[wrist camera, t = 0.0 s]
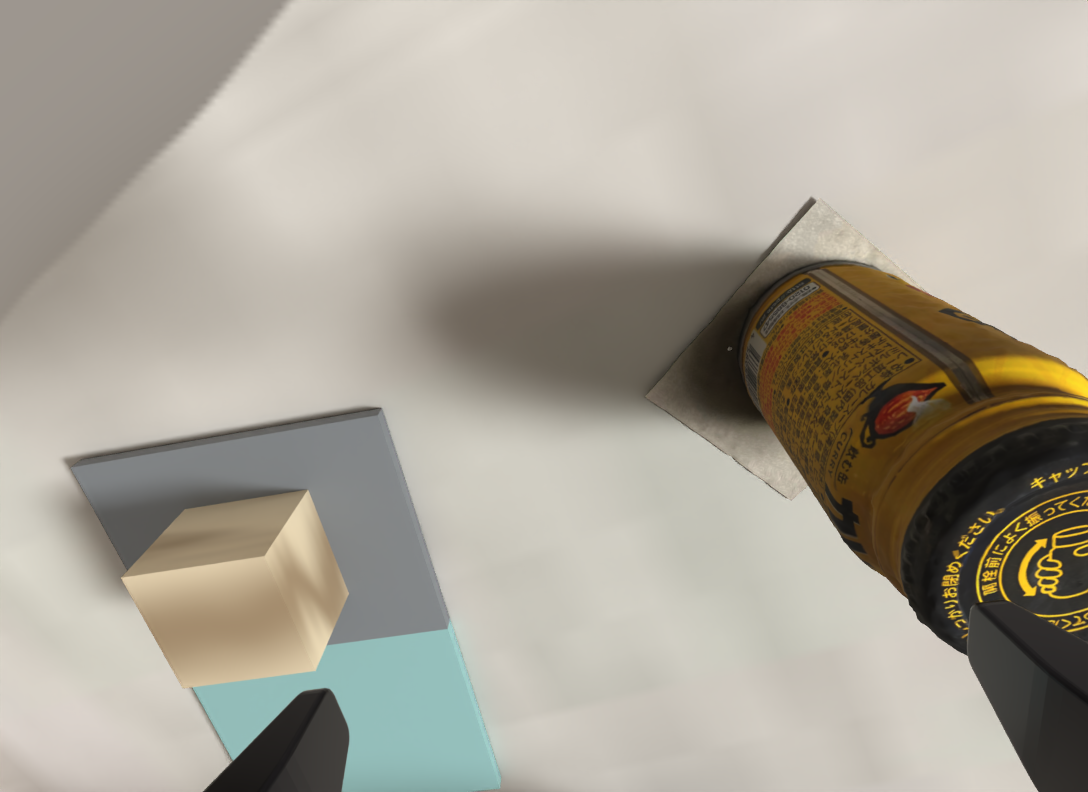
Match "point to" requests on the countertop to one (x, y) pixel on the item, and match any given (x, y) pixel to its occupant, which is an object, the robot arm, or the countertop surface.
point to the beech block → (240, 590)
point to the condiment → (900, 427)
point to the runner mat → (368, 613)
